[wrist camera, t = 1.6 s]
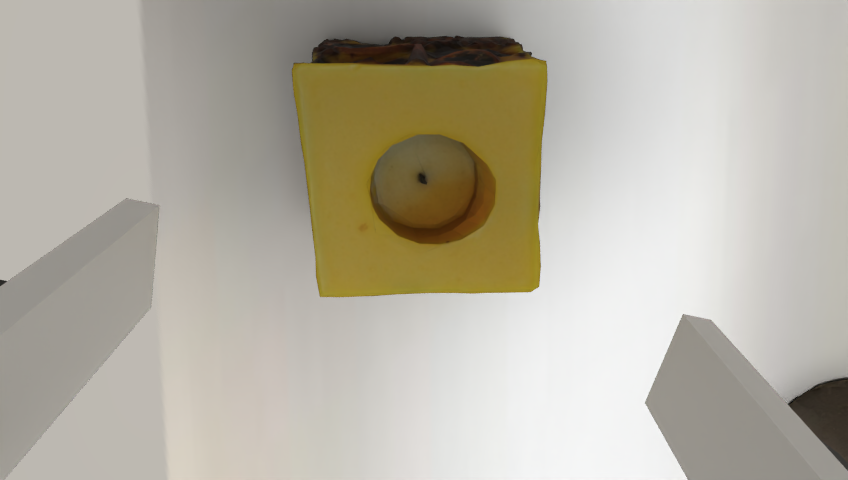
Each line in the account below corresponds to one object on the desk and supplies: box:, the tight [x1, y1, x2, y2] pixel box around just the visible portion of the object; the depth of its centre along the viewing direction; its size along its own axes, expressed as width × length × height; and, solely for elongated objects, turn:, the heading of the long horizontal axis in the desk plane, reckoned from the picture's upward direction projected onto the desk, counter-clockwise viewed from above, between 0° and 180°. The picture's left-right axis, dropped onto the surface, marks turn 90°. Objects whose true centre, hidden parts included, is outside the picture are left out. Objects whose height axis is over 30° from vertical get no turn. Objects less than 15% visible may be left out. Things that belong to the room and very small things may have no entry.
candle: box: [292, 36, 547, 297], centre depth 30 cm, size 10×10×10 cm
